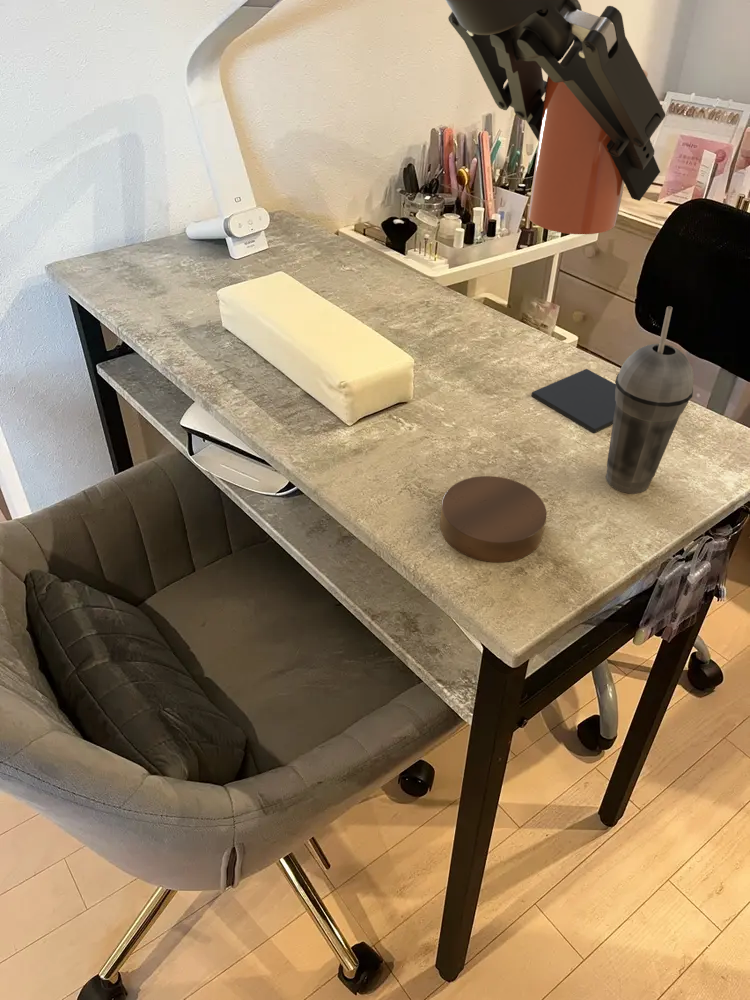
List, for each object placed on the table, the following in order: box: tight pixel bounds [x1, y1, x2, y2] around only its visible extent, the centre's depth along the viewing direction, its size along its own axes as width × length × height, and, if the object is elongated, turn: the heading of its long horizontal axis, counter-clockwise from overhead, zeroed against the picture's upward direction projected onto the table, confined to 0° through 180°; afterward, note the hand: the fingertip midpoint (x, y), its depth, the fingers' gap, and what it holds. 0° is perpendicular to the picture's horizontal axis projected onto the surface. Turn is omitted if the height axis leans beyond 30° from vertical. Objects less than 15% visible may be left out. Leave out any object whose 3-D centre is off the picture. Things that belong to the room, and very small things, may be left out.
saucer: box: [439, 475, 548, 563], centre depth 74 cm, size 10×10×2 cm
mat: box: [531, 368, 616, 434], centre depth 93 cm, size 10×10×1 cm
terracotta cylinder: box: [527, 69, 649, 235], centre depth 60 cm, size 7×7×11 cm
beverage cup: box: [605, 305, 695, 495], centre depth 75 cm, size 7×7×20 cm
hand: (606, 172), depth 64 cm, fingers closed on terracotta cylinder, 7 cm apart
